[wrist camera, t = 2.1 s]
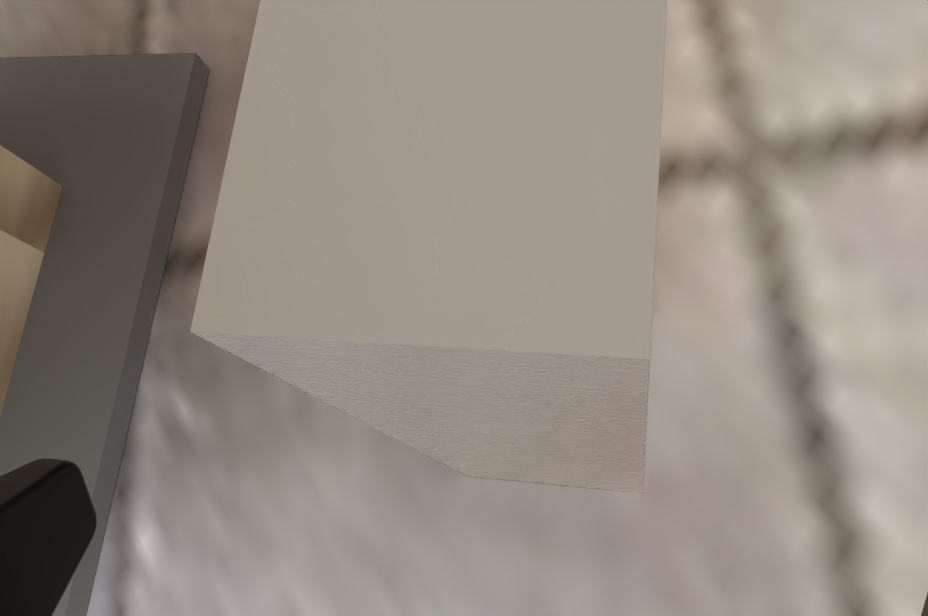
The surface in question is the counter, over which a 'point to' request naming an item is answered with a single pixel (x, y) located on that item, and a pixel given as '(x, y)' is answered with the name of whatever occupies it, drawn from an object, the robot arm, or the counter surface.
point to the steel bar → (451, 225)
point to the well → (20, 249)
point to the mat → (94, 255)
